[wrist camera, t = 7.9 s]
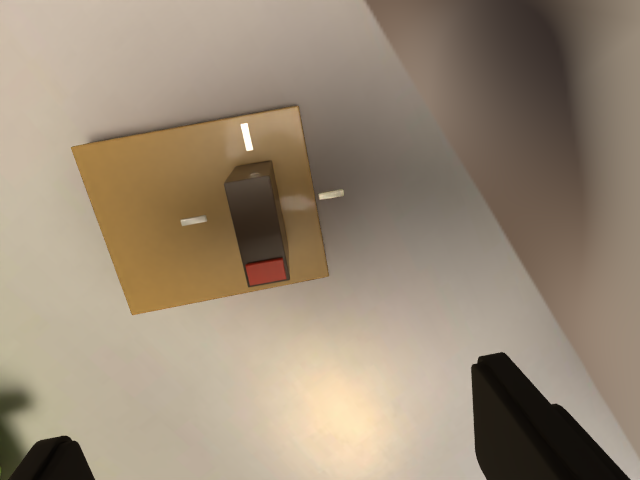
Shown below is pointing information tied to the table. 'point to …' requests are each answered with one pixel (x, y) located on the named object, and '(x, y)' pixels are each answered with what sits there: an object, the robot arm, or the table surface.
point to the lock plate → (197, 206)
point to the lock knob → (258, 223)
